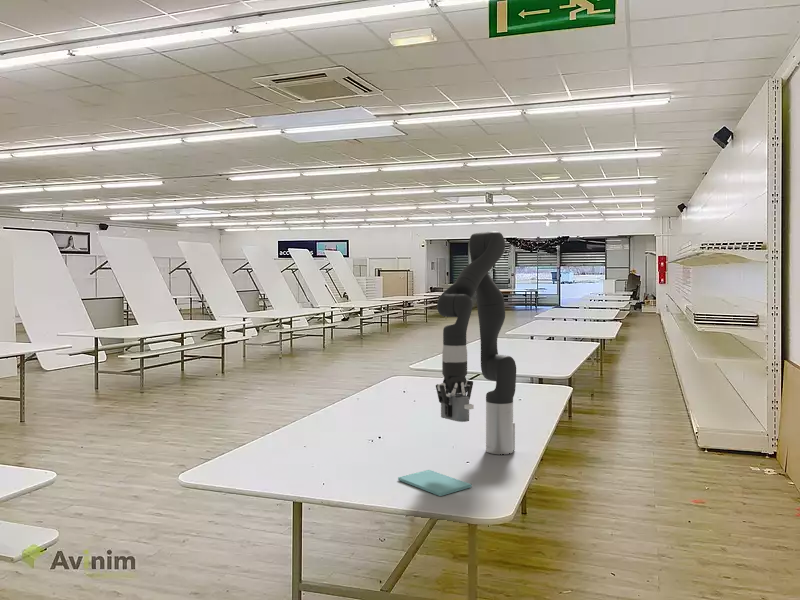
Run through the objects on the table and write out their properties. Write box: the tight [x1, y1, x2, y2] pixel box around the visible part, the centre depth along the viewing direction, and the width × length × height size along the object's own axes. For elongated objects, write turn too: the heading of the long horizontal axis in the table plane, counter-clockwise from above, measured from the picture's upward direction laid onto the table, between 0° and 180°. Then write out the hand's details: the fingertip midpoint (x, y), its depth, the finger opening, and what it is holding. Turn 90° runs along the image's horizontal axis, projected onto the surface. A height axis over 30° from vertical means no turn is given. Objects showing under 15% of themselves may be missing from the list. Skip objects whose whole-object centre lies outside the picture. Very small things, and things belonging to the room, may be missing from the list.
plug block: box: [440, 393, 474, 423], centre depth 187 cm, size 4×12×7 cm, turn 39°
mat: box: [397, 469, 472, 497], centre depth 178 cm, size 12×18×1 cm, turn 39°
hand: (454, 415), depth 188 cm, fingers closed on plug block, 4 cm apart
